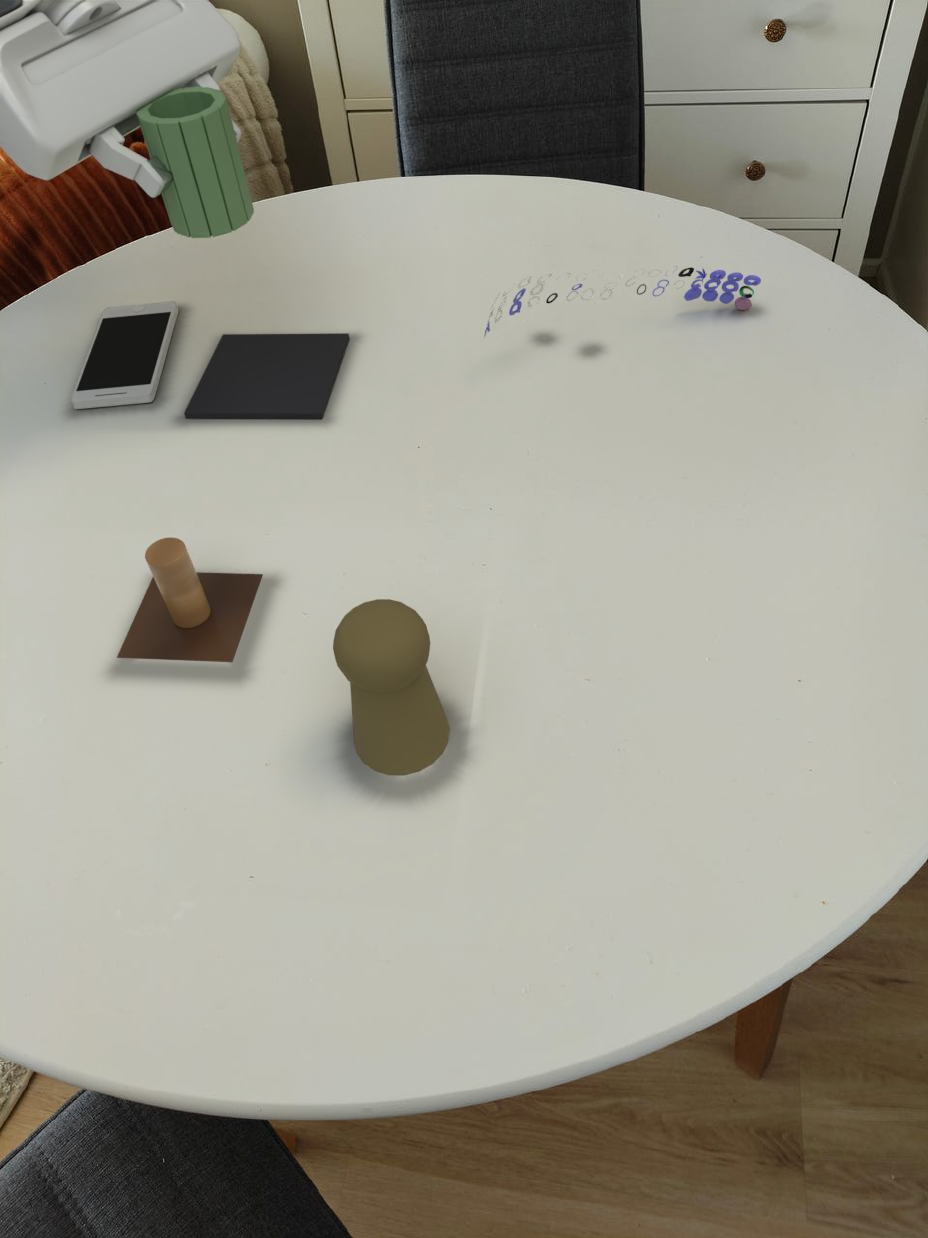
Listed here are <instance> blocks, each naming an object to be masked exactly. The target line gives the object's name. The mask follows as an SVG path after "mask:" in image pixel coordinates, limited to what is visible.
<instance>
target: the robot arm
mask: <svg viewBox="0 0 928 1238" xmlns="http://www.w3.org/2000/svg"><path fill="white" fill-rule="evenodd" d="M241 50H242V43H241V40H240V35H239V33H238V30H236V28H235V27H234V25H233V24H232V23H231V22H230V21H229V20H228V19H227V17H225V16H224V15H223V14H222V13H221V11H220V10H218V8H216V7H215V6H214V5H213V3H211V2H210V1H209V0H0V148H1V150H3V152H4V153H5V154H6V155H7V157H9V158H10V160H11V161H13V162H14V164H15V165H16V166H17V167H18V168H19V169H21V171H23V173H25V174H27V175H29V176H31V177H34V178H37V179H40V180H43V181H50V180H53V179H54V178H55V177H57V176H59V175H61V174H62V173H64V172H66V171H67V170H69V169H71V168H72V167H74V166H76V165H78V164H79V163H81V162H83V161H84V160H86V159H88V158H90V157H92V156H93V158H95V160H96V161H97V162H98V163H99V164H100V166H102V167H103V168H104V169H107V171H111V172H113V173H115V174H118V175H120V176H121V177H125V178H126V179H129V180H132V181H135V182H136V183H137V184H138V186H139V187H140V188H141V189H142V190H143V191H144V192H145V193H146V194H147V195H148V197H150V198H152V199H154V198H157V197H158V196H160V195H162V194H161V193H163V192H164V191H166V190H167V189H168V188H169V187H170V184H171V183H172V181H173V175H172V173H171V171H169V170H168V169H167V168H165V167H164V164H163V163H162V162H161V161H160V159H159V158H158V157H157V156H154V157H153V158H151V159H150V158H149V159H147V158H146V157H144V156H142V155H141V154H138V153H137V152H135V151H133V150H132V149H130V148H128V147H126V146H124V143H125V140H126V139H125V137H126V136H127V135H130V134H131V133H133V132H134V131H136V130H138V129H140V128H141V127H140V124H139V121H138V117H137V114H136V111H138V110H139V109H141V108H142V107H144V106H146V105H148V104H149V103H151V102H153V101H155V100H156V99H158V98H160V97H162V96H163V95H165V94H167V93H169V92H170V91H172V90H174V89H179V88H182V89H184V88H186V87H204V88H205V87H209V88H213V89H217V90H220V91H221V87H220V85H219V83H218V82H220V81H221V80H224V79H225V78H227V76H228V75H229V74H230V73H231V70H232V69H233V67H234V65H235V63H236V62H237V59H238V57H239V55H240V53H241ZM232 123H233V127H234V131H235V135H236V139H237V144H238V142H239V141H240V139H241V138H242V131H241V129H240V127H239V126H238V125H237V124H236V123H235V122H234V120H233V119H232Z"/></svg>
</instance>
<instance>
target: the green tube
mask: <svg viewBox="0 0 928 1238" xmlns="http://www.w3.org/2000/svg"><path fill="white" fill-rule="evenodd" d="M136 114H137V117H138V121H139V124H140V127H139V128H140V131H141V133H142V136H143V140H144V142H145V146H146V148H147V152H148V155H149V159H151V158H153V157H154V156H157V157H158V158H159V159H160V161H161V162H162V163H163V164H164V167H165V168H167V169H168V170H169V171H171V173H172V175H173V181H172V183H171V184H170V187H169V188H168V189H167V190H166V191H164V192H163V193H161V194H160V195H161V196H162V200H163V204H164V206H165V209H166V213H167V216H168V220H169V222H170V225H171V227H172V229H173V231H174V232H175V233H176V234H177V235H181V236H184V237H186V238H191V239H210V238H211V237H212V238H215V237H219V236H223V235H226V234H230V233H232V232H233V231H234V232H235V231H237V230H238V229H240V228H241V227H243V226H245V225H247V224H248V222H250V220H251V219H252V217H253V215H254V211H255V209H254V205H253V200H252V196H251V193H250V192H251V191H250V189H249V185H248V182H247V181H248V179H247V177H246V172H245V169H244V163H243V160H242V157H241V156H242V155H241V152H240V148H239V144H238V143H237V139H236V135H235V131H234V127H233V123H232V120H233V119H232V116H231V112H230V107H229V103H228V100H227V97H226V96H225V94H224V93H223V91H222V90H221V89H220V90H217V89H213V88H209V87H205V88H204V87H186V88H184V89H182V88H179V89H174V90H172V91H170V92H169V93H167V94H165V95H163V96H162V97H160V98H158V99H156V100H155V101H153V102H151V103H149V104H148V105H146V106H144V107H142V108H141V109H139V110H138V111H136Z"/></svg>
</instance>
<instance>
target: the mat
mask: <svg viewBox="0 0 928 1238" xmlns="http://www.w3.org/2000/svg"><path fill="white" fill-rule="evenodd" d="M349 342H350V333H347V332H346V333H343V332H342V333H235V334H234V333H229V334H228V333H227V334H224V333H223V334H222V335H221V337H220V339H219V341H218V343H217V346H216V348H215V349H214V351H213V353H212V355H211V358H210V360H209V362H208V364H207V366H206V367H205V370H204V372H203V373H202V376H201V378H200V380H199V382H198V384H197V386H196V388H195V390H194V392H193V394H192V396H191V398H190V399H189V403H188V404H187V405H186V407H185V409H184V412H183V414H184V417H185V419H222V420H223V419H224V420H225V419H227V420H228V419H231V420H232V419H233V420H234V419H235V420H236V419H239V420H241V419H242V420H243V419H244V420H245V419H246V420H249V419H252V420H253V419H254V420H255V419H256V420H257V419H258V420H261V419H262V420H272V419H273V420H322V419H323V418H324V415H325V412H326V409H327V406H328V403H329V400H330V397H331V395H332V391H333V388H334V385H335V382H336V380H337V377H338V374H339V371H340V369H341V366H342V362H343V359H344V357H345V353H346V351H347V348H348V345H349Z"/></svg>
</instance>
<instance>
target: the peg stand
mask: <svg viewBox="0 0 928 1238" xmlns="http://www.w3.org/2000/svg"><path fill="white" fill-rule="evenodd" d="M144 559H145V561H146V564H147V566H148V568H149V570H150V573H151V575H152V578H151V580H150V583H149V585H148V586H147V589H146V591H145V593H144V595H143V598H142V600H141V602H140V605H139V606H138V609H137V611H136V613H135V616H134V618H133V620H132V622H131V624H130V627H129V629H128V631H127V633H126V636H125V638H124V640H123V642H122V645H121V647H120V649H119V651H118V653H117V656H116V658H117V659H136V660H164V661H167V660H168V661H185V662H188V661H190V662H211V663H212V662H213V663H234V659H235V657H236V653H237V651H238V648H239V646H240V642H241V640H242V637H243V633H244V631H245V628H246V624H247V622H248V620H249V616H250V614H251V610H252V608H253V605H254V602H255V599H256V596H257V593H258V591H259V588H260V585H261V582H262V579H263V576H264V574H263V573H240V572H239V573H238V572H237V573H234V572H233V573H232V572H203V571H202V572H201V571H200V572H197V571H196V568H195V566H194V564H193V561H192V559H191V556H190V554H189V551H188V548H187V546H186V543H185V542H184V541H183V540H182V539H180V538H178V537H163V538H160V539H158V540H155V541H153V543H151V544H150V545H149V546H148V547H147V548H146V550H145V552H144Z"/></svg>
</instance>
